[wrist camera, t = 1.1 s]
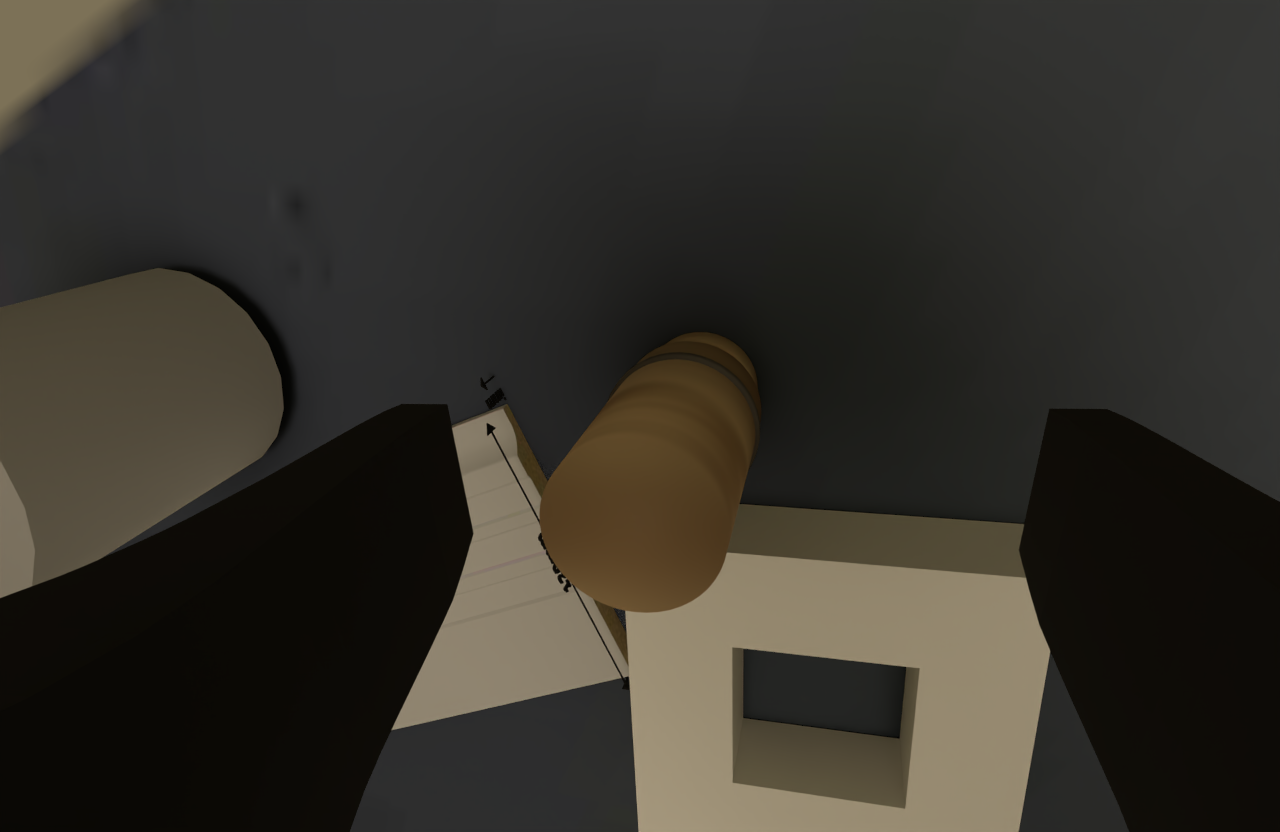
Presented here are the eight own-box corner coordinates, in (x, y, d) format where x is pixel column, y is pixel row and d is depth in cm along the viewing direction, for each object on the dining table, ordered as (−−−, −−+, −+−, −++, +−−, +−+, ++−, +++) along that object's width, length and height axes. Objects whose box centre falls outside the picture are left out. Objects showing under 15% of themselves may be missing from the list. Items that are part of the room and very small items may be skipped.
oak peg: (769, 451, 25) (732, 626, 17) (638, 444, 26) (544, 606, 18) (772, 320, 23) (732, 443, 15) (632, 317, 24) (525, 431, 16)
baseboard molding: (-43, 583, 38) (106, 776, 41) (-110, 620, 35) (55, 824, 38) (495, 358, 27) (645, 647, 30) (458, 388, 24) (626, 701, 27)
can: (319, 466, 29) (10, 686, 18) (149, 457, 31) (-222, 653, 20) (272, 261, 27) (-121, 379, 16) (90, 264, 28) (-376, 372, 18)
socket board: (990, 824, 28) (1006, 903, 25) (657, 774, 31) (639, 839, 28) (1038, 524, 24) (1062, 581, 21) (644, 497, 27) (621, 543, 24)
